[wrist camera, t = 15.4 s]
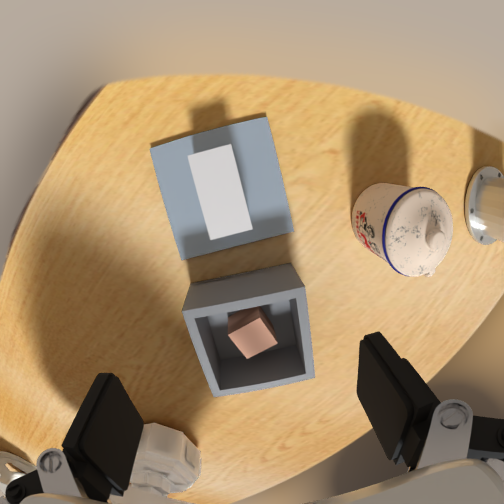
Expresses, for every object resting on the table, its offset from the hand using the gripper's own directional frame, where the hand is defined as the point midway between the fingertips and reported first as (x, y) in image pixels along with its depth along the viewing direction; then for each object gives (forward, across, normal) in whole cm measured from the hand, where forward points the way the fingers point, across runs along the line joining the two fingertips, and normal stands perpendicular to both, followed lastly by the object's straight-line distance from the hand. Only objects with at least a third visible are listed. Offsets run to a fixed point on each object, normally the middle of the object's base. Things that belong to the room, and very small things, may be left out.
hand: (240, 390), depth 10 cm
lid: (+24, 0, -6) cm, 25 cm away
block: (+23, 0, +10) cm, 25 cm away
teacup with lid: (+24, -19, +2) cm, 30 cm away
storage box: (+24, 0, +10) cm, 26 cm away
